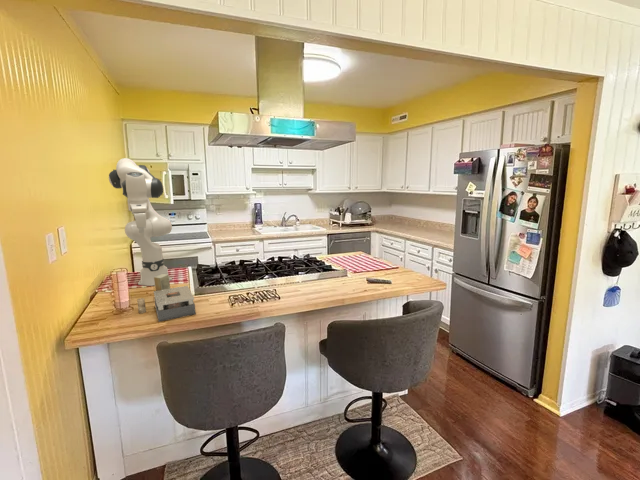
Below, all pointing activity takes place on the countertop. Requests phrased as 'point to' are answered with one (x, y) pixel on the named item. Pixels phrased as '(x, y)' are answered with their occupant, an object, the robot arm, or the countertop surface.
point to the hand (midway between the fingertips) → (141, 234)
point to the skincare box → (162, 282)
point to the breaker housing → (174, 303)
